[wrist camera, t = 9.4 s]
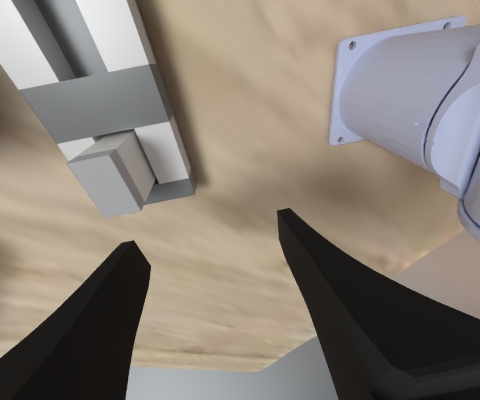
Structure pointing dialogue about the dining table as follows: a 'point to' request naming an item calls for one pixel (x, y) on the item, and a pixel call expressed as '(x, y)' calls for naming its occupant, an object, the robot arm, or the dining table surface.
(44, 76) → the fuse holder
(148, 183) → the block
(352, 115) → the robot arm
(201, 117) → the dining table surface
